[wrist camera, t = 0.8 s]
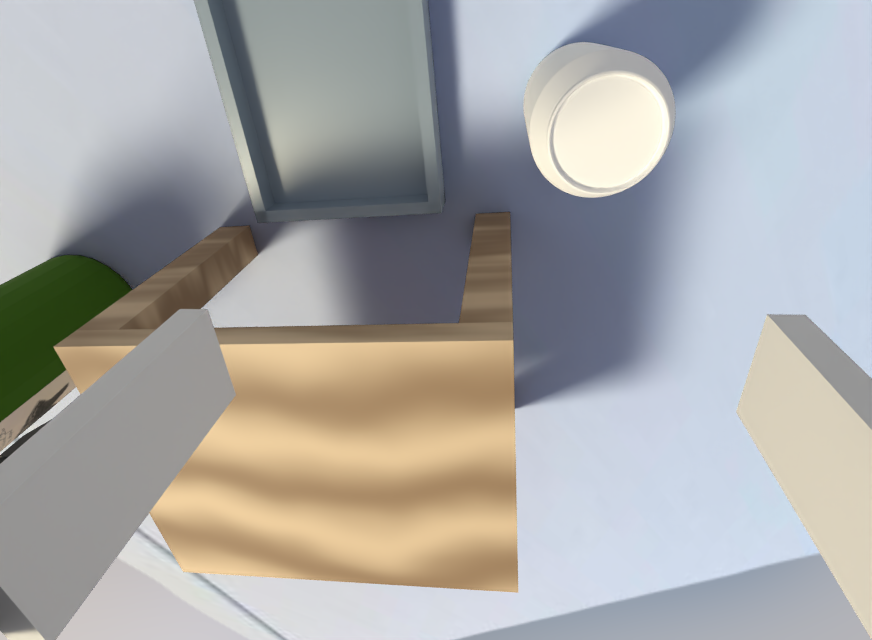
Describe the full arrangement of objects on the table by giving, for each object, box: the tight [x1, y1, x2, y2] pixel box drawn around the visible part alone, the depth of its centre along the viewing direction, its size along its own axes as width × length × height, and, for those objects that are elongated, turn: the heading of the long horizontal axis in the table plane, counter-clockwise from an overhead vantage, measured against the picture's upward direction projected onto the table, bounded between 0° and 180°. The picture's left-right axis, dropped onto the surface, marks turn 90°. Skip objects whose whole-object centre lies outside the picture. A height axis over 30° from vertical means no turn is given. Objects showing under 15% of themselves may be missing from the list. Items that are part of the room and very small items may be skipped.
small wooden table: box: [54, 212, 518, 592], centre depth 34 cm, size 18×22×16 cm
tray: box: [194, 0, 445, 223], centre depth 30 cm, size 18×13×2 cm
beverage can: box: [524, 42, 675, 198], centre depth 26 cm, size 6×6×12 cm
